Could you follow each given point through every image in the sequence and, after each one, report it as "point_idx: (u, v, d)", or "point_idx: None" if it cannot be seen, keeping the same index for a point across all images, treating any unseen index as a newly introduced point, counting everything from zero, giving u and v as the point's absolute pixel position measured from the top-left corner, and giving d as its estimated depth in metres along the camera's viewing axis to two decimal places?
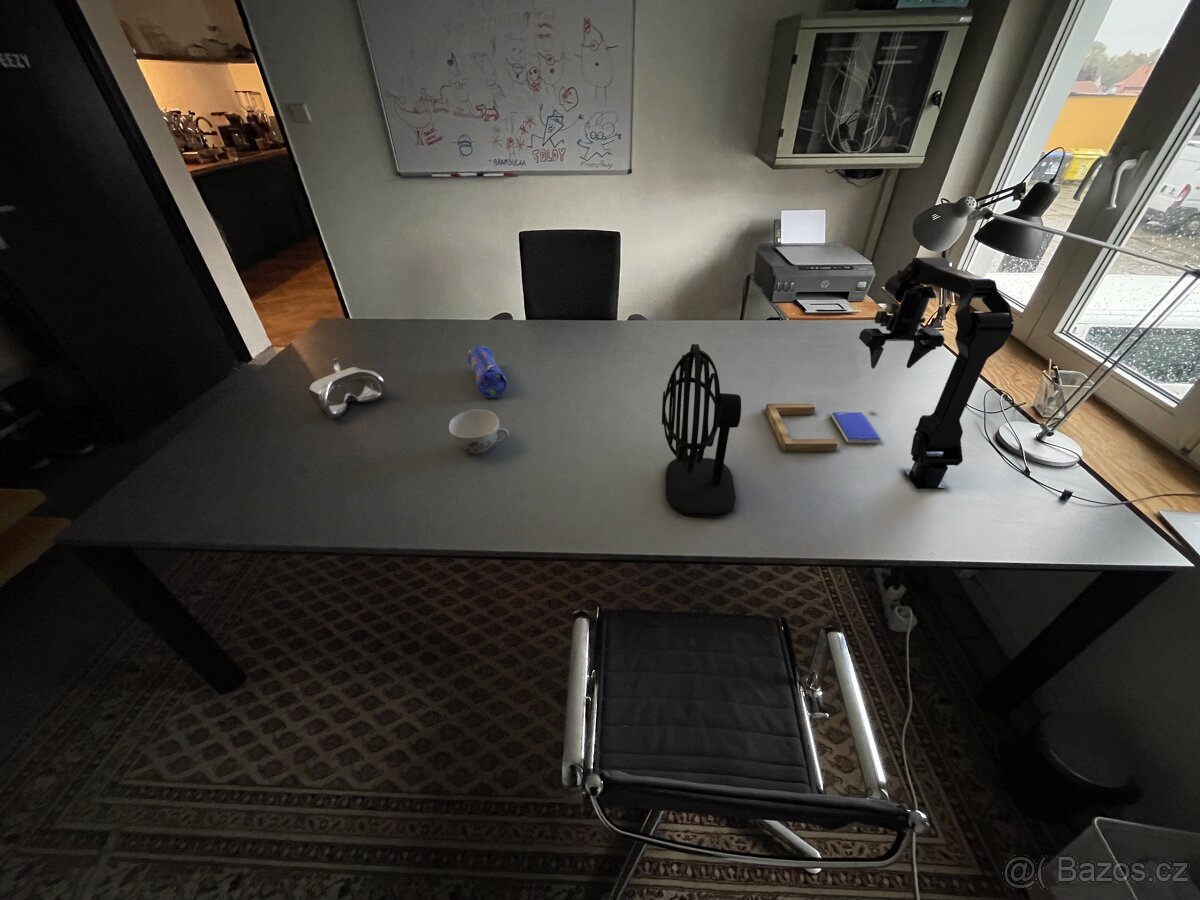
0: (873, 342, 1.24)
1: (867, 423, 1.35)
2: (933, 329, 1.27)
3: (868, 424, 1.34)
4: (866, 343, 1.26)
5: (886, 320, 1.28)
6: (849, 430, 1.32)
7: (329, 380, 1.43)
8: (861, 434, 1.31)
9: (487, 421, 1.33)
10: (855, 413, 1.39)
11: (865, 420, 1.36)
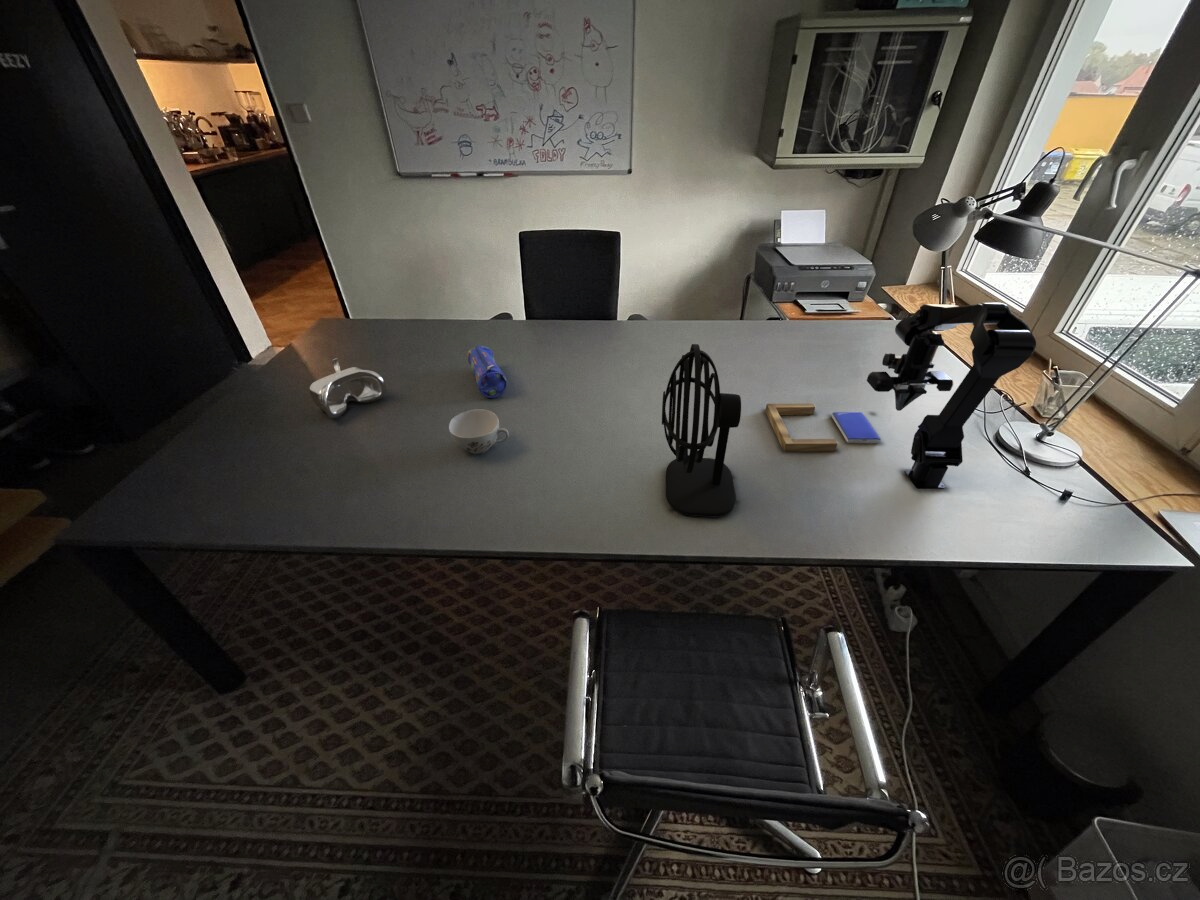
0: (881, 386, 1.24)
1: (867, 423, 1.35)
2: (941, 373, 1.26)
3: (868, 424, 1.34)
4: (874, 387, 1.25)
5: (894, 363, 1.27)
6: (849, 430, 1.32)
7: (329, 380, 1.43)
8: (861, 434, 1.31)
9: (487, 421, 1.33)
10: (855, 413, 1.39)
11: (865, 420, 1.36)
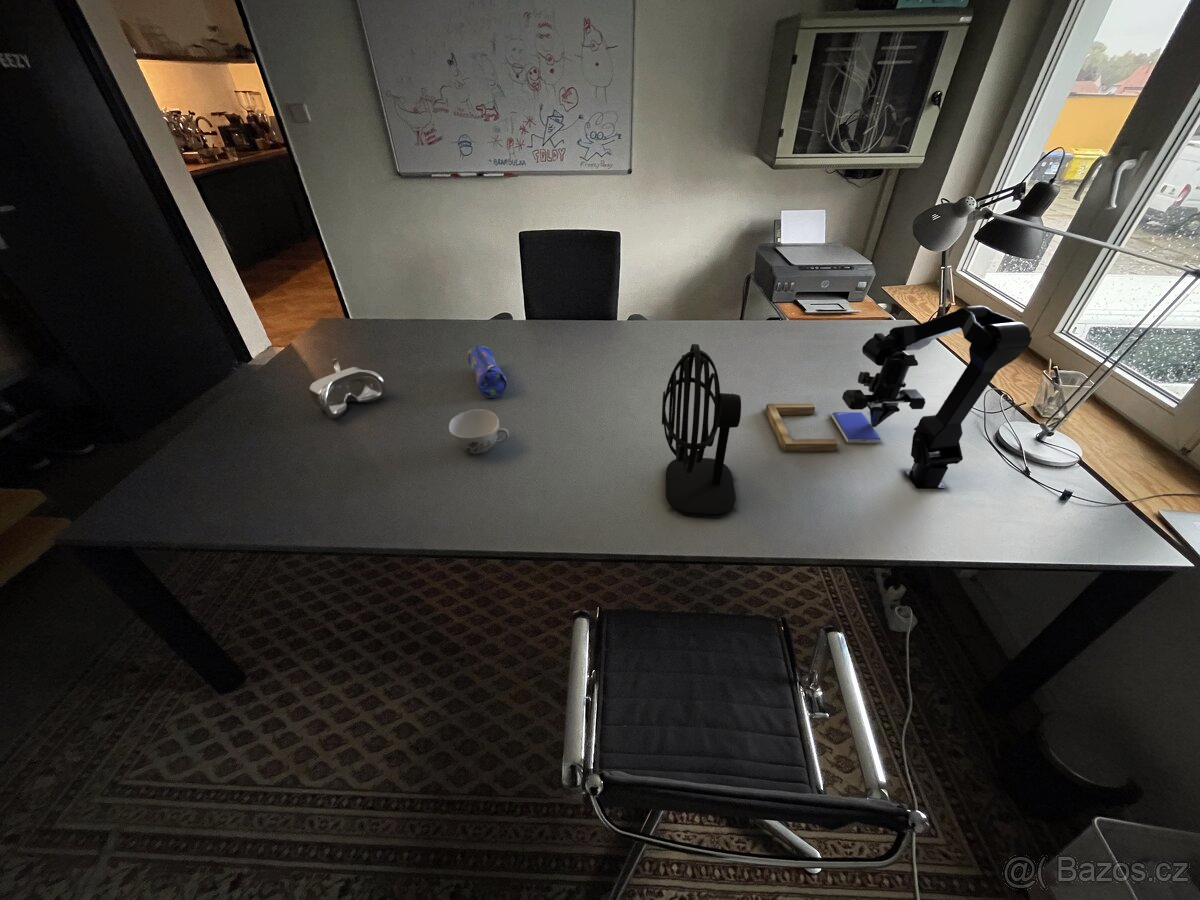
0: (855, 405, 1.27)
1: (867, 423, 1.35)
2: (914, 391, 1.29)
3: (868, 424, 1.34)
4: (848, 405, 1.28)
5: (868, 381, 1.31)
6: (849, 430, 1.32)
7: (329, 380, 1.43)
8: (861, 434, 1.31)
9: (487, 421, 1.33)
10: (855, 413, 1.39)
11: (865, 420, 1.36)
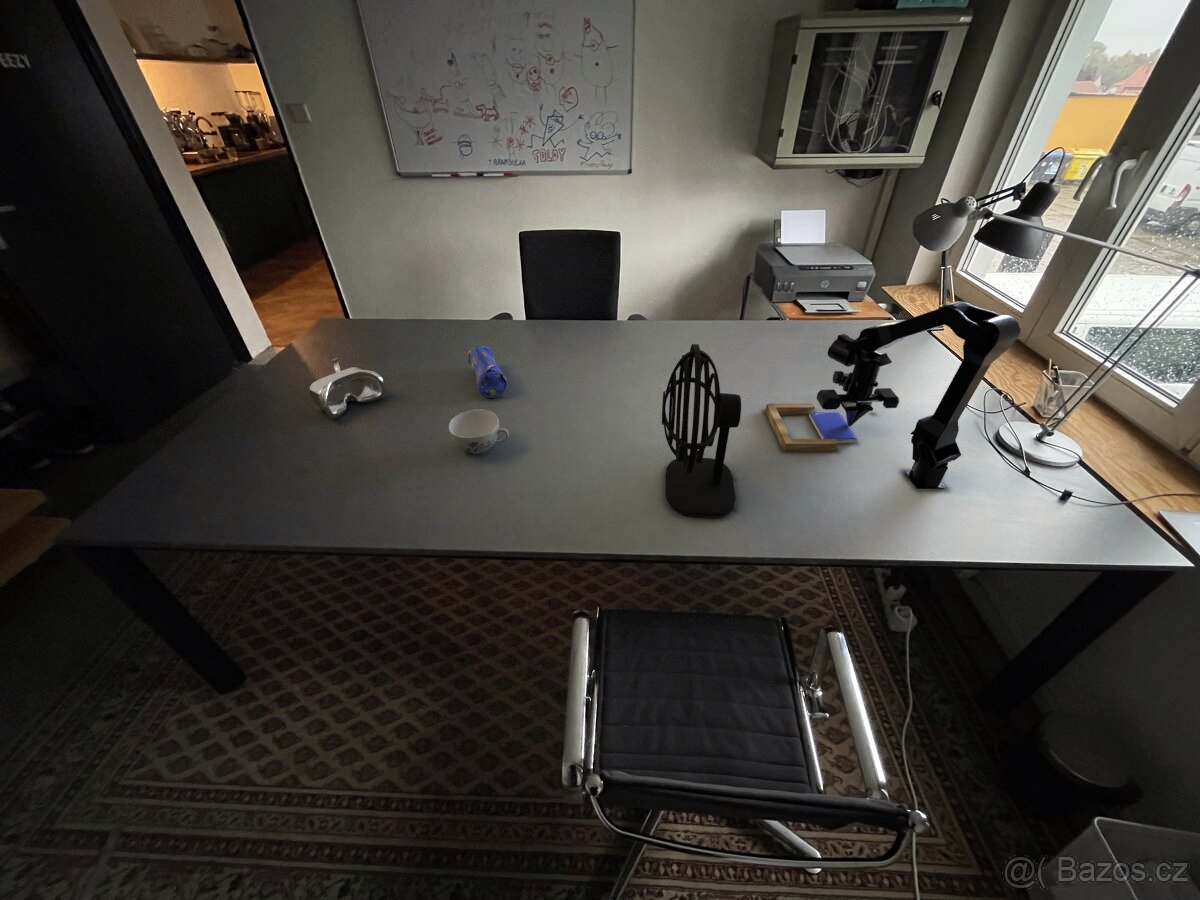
0: (828, 405, 1.27)
1: (844, 423, 1.35)
2: (889, 390, 1.29)
3: (845, 424, 1.35)
4: (822, 405, 1.29)
5: (842, 381, 1.31)
6: (826, 430, 1.33)
7: (329, 380, 1.43)
8: (837, 434, 1.31)
9: (487, 421, 1.33)
10: (832, 413, 1.39)
11: (842, 420, 1.36)
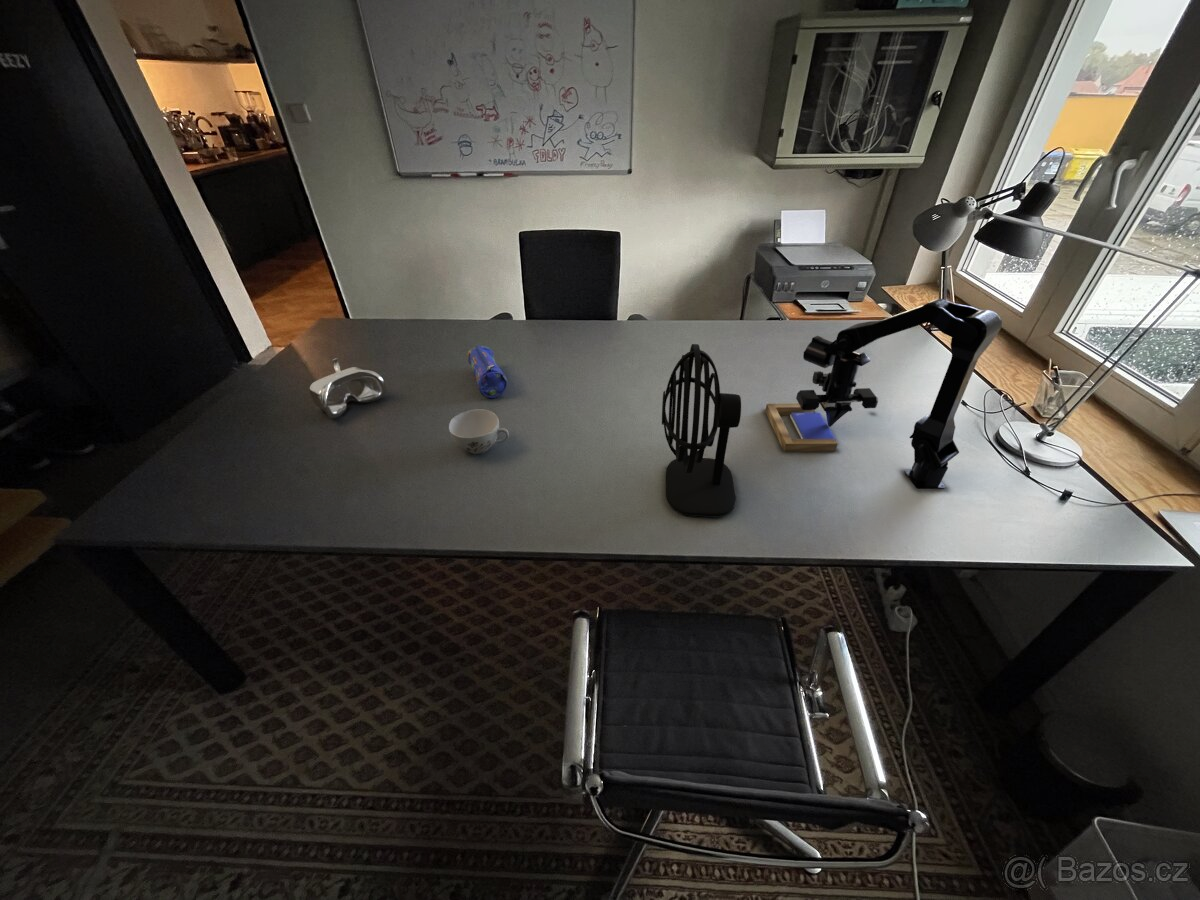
0: (807, 405, 1.27)
1: (824, 423, 1.35)
2: (868, 390, 1.29)
3: (825, 424, 1.35)
4: (801, 405, 1.29)
5: (822, 381, 1.31)
6: (806, 430, 1.33)
7: (329, 380, 1.43)
8: (817, 434, 1.31)
9: (487, 421, 1.33)
10: (813, 413, 1.39)
11: (822, 420, 1.36)
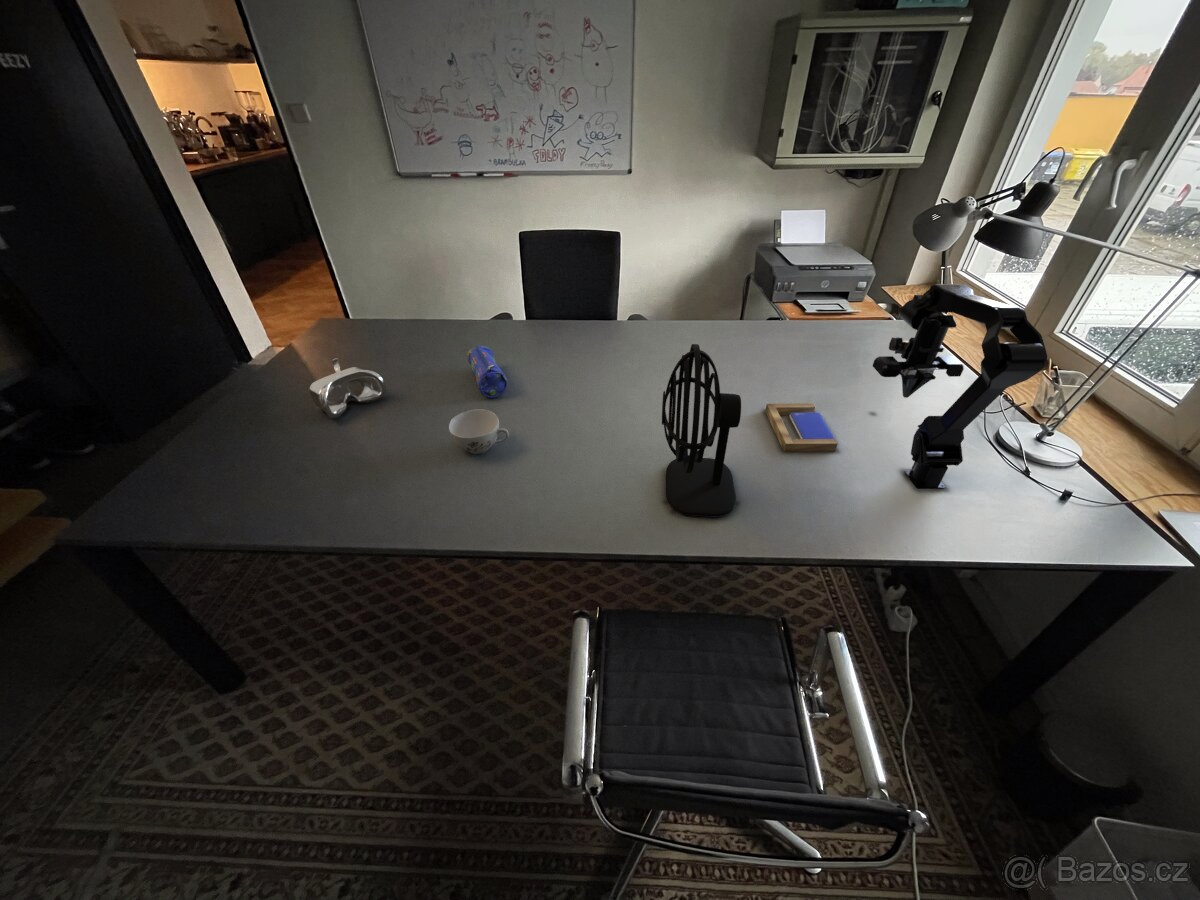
0: (888, 372, 1.18)
1: (823, 423, 1.35)
2: (951, 357, 1.20)
3: (824, 424, 1.35)
4: (880, 372, 1.19)
5: (901, 347, 1.22)
6: (805, 430, 1.33)
7: (329, 380, 1.43)
8: (816, 434, 1.31)
9: (487, 421, 1.33)
10: (812, 413, 1.39)
11: (822, 420, 1.36)
